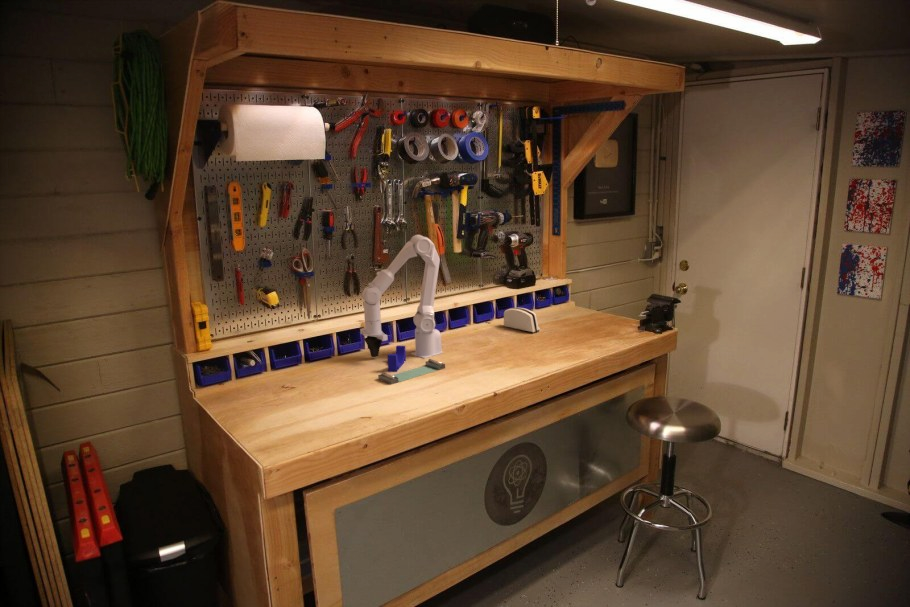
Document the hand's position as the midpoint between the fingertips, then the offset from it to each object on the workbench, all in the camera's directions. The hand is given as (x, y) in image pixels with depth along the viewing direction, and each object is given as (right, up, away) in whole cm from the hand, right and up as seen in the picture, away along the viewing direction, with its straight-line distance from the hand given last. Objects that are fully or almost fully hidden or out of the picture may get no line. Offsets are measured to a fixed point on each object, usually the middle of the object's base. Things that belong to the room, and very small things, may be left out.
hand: (374, 356), depth 222 cm
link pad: (+15, -4, -16) cm, 22 cm away
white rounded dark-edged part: (+57, +7, +37) cm, 69 cm away
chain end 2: (+22, -3, -9) cm, 24 cm away
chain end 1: (+7, -6, -22) cm, 24 cm away
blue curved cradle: (+8, -3, -7) cm, 11 cm away
